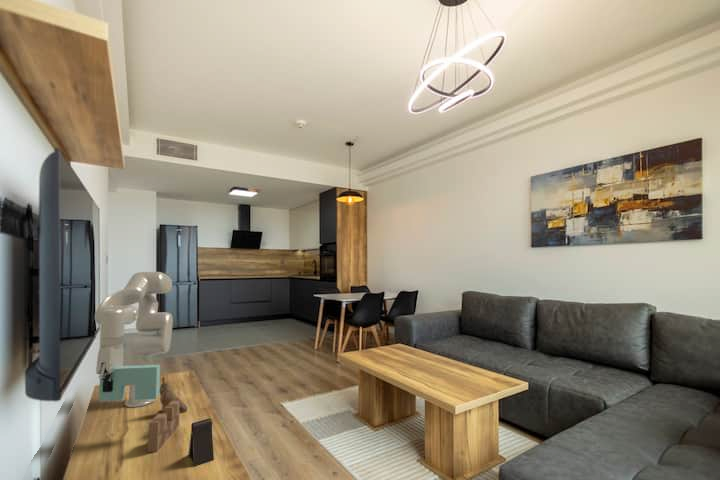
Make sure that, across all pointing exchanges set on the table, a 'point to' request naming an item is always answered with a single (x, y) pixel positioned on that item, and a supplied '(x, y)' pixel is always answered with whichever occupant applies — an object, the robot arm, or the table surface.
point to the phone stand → (201, 442)
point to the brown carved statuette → (169, 398)
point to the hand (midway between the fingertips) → (110, 389)
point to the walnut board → (163, 426)
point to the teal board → (133, 382)
